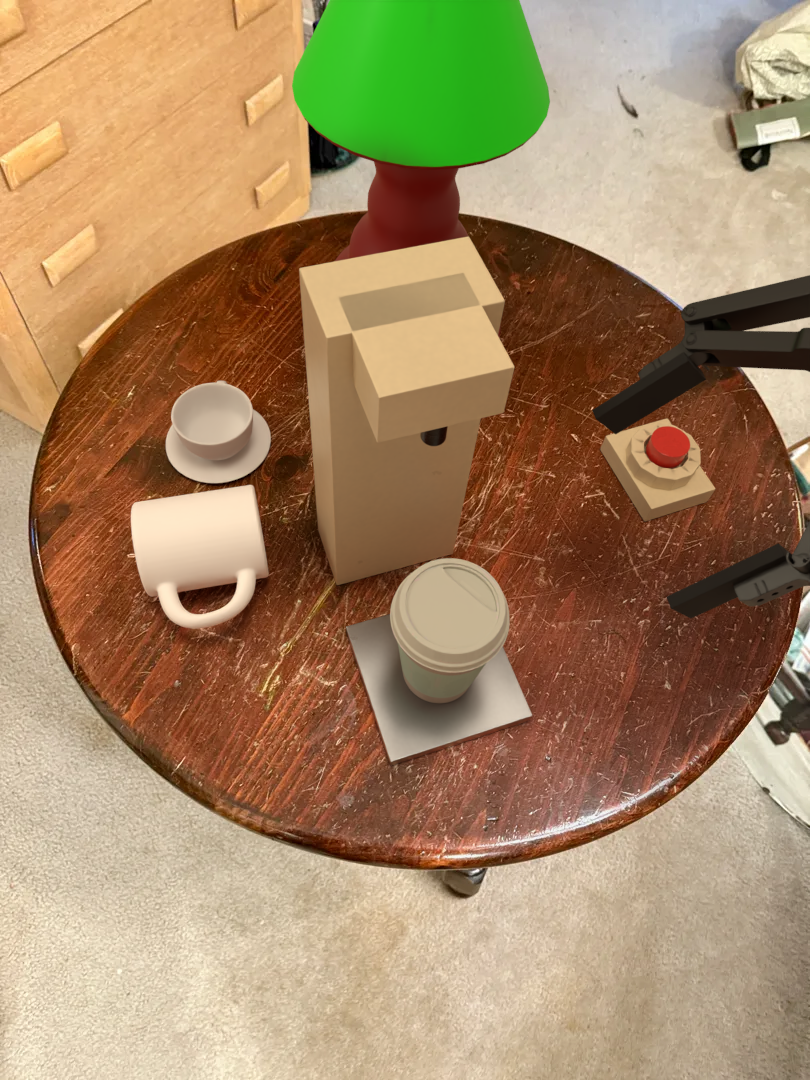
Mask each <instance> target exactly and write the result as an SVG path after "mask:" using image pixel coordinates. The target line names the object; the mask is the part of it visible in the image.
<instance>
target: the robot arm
mask: <svg viewBox="0 0 810 1080" xmlns="http://www.w3.org/2000/svg"><path fill="white" fill-rule="evenodd" d="M680 317H681V319H682V320H683V321H684V322H683V323H684V335H683V337H682V340H681V341H680V342H679V343H678V344H676V345H675V346H673V347H672V348H670V349H669V350H667V351H666V352H664V353H662V354H661V355H659V356H658V357H656V358H654V359H653V360H652V361H650V362H648V363H647V364H645V365H644V366H642V368H641V369H640V370H639V371H638V372H637V375H638V377H639V380H637V381H635V382H634V383H632V384H630V385H629V386H627V387H626V388H624V389H623V390H621V391H619V392H618V393H617V394H615V395H613V396H611V398H609V399H607V400H606V401H604V402H603V403H601V404H599V405H598V406H596V407H594V408H593V409H592V413H593V416H594V418H595V420H596V421H597V422H599V423H600V424H601V425H603V426H604V427H605V428H607V429H608V430H609V431H610V432H612V434H618V433H619V432H621V431H624V430H627V429H628V428H629V427H631V426H633V425H634V424H635V423H637V422H639V421H640V420H643V419H644V418H645V417H647V416H649V415H650V414H652V413H654V412H655V411H657V410H659V409H660V408H662V407H664V406H665V405H667V404H668V403H670V402H671V401H674V400H675V399H677V398H678V397H680V396H682V395H684V394H685V393H686V392H688V391H691V389H693V388H695V387H697V386H698V385H700V384H701V383H703V382H705V381H707V378H706V376H705V374H704V372H703V370H702V369H701V368H700V367H699V366H701V367H702V368H703V369H704V370H705V371H708V372H709V371H710V367H723V368H726V367H727V368H743V369H744V368H749V369H765V370H766V369H769V370H789V371H791V370H792V371H805V372H808V373H810V327H803V328H801V329H800V330H798V331H785V330H784V331H781V330H780V331H778V330H777V331H776V330H774V331H773V330H772V331H771V330H755V329H759V328H763V327H768V326H769V327H770V326H773V325H779V324H784V323H788V322H794V321H798V320H803V319H808V318H810V274H808V275H805V276H801V277H796V278H791V279H788V280H784V281H779V282H775V283H771V284H765V285H761V286H757V287H753V288H750V289H746V290H741V291H737V292H733V293H728V294H723V295H720V296H716V297H712V298H708V299H707V298H706V299H702V300H699V301H695V302H694V301H693V302H691V303H688V304H686V305H685V306H684V307H683V308H682V310H681V313H680ZM803 587H810V520H809V521H808V523H807V526H806V527H805V529H804V531H803V533H802V535H801V537H800V538H799V541H798V543H797V544H796V546H795V549H794V550H793V552H792V553H791V552H790V551H789V550H787V549H786V548H785V547H784V546H782V544H780V543H776V544H774V545H772V546H769V547H768V548H765V549H764V550H761V551H759V552H757V553H755V554H753V555H751V556H748V557H747V558H744V559H742V560H740V561H739V562H736V563H735V564H732V565H729V566H728V567H725V568H723V569H721V570H719V571H717V572H715V573H713V574H711V575H709V576H707V577H705V578H702V579H700V580H698V581H696V582H694V583H692V584H689V585H688V586H686V587H684V588H681V589H679V590H677V591H676V592H673V593H671V594H669V595H666V599H667V602H668V605H669V608H670V609H671V610H672V611H675V612H677V613H679V614H681V615H682V616H684V617H687V618H688V619H693V618H695V617H698V616H700V615H702V614H704V613H707V612H708V611H711V610H714V609H715V608H718V607H720V606H722V605H724V604H726V603H729V602H730V601H733V600H735V599H738V601H739V602H740V603H742V604H744V605H745V606H747V607H760V606H762V605H764V604H766V603H769V602H772V601H774V600H775V599H778V598H780V597H782V596H784V595H788V594H789V593H791V592H795V591H797V590H798V589H800V588H803Z"/></svg>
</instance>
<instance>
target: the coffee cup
mask: <svg viewBox="0 0 810 1080" xmlns="http://www.w3.org/2000/svg"><path fill="white" fill-rule="evenodd" d="M389 614H390V621H391V627H392V631H393V633H394V636H395V638H396V640H397V642H398V647H399V653H400V659H401V665H402V671H403V676H404V679H405V682H406V684H407V686H408V687H409V689H410V690H411V691H412V692H413V693H414V694H415V695H416V696H418V697H419V698H421V699H423V700H425V701H428V702H431V703H448V702H451V701H454V700H456V699H458V698H459V697H461V696H462V695H463V694H464V693H465V692H466V691H467V689H468V688H469V687H470V685H471V684H472V683H473V681H474V680H475V678H476V677H477V676H478V674H479V673H480V671H481V670H482V668H483V667H484V666H485V664H486V663H487V662H488V661H490V660H491V659H492V658H493V657H494V656H495V655H496V654H497V653H498V652H499V651H500V649H501V648H502V646H503V647H504V645H505V643H506V641H507V638H508V636H509V631H510V625H511V621H510V608H509V605H508V601H507V598H506V596H505V594H504V592H503V590H502V588H501V585H500V584H499V583H498V581H497V580H496V579H495V578H494V576H493V575H492V574H491V573H490V572H488V571H487V569H484V568H483V567H482V566H480V565H478V564H476V563H474V562H472V561H469V560H465V559H461V558H455V557H454V558H452V557H445V558H444V557H443V558H436V559H432V560H429V561H427V562H425V563H423V564H422V565H420V566H418V567H417V568H416V569H415V570H413V571H412V572H410V573H409V574H408V575H407V576H406V577H405V578H404V579H403V580H402V581H401V583H400V584H399V585H398V587H397V590H396V591H395V593H394V595H393V598H392V600H391V603H390V612H389Z"/></svg>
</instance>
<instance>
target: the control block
mask: <svg viewBox="0 0 810 1080" xmlns="http://www.w3.org/2000/svg"><path fill="white" fill-rule="evenodd" d="M664 426H670V427H674V428H677V429H679V430H681V431H682V432H684V433H685V434H686V435H687V437H688V438H689V441H690V449H689V451H688V453H687V455H686V456H685V458H684V460H683V461H682V463H681V464H680V465H678V466H677V467H674V468H663V467H660V466H658V465H656V464H654V463H653V462H652V461H651V460H650V459H649V458H648V456H647V454H646V446H647V444H648V442H649V440H650V438H651V436H652V434H653V432H654V431H655V430H656V429H658V428H660V427H664ZM599 450H600V452H601V455H603V457H604V458H605V460H606V462H607V463H608V465H609V467H610V468H611V470H612V471H613V473H614V475H615V477H616V478H617V479H618V481H619V483H620V484H621V487H622V488H623V489H624V491H625V493H626V494H627V496H628V497H629V499H630V501H631V503H632V504H633V506H634V508H635V509H636V510H637V512H638V514H639V515H640V518H641V519H642V520H643V522H648V521H651V520H655V519H658V518H661V517H663V516H667V515H669V514H670V515H671V514H672V513H676V512H679V511H683V510H686V509H689V508H692V507H695V506H698V505H702V504H705V503H708V501H709V500H710V498H711V497H712V495H713V494H714V492H715V491H716V487H715V486H714V484H713V482H712V481H711V479H710V478H709V477H708V475H707V474H706V472H705V471H704V470H703V468H702V467H701V462H702V459H701V458H702V457H701V448H700V446H699V444H698V443H697V442H696V441H695V438H694V437H693V436H692V434H690V433H689V432H687V431H685V430H683V429H681V428H679V426H676V425H674V424H672V422H671V421H670V419H669V418H668V417H667V418H663V419H660V420H656V421H652V422H649V423H646V424H642V425H639V426H635V427H632V428H627V429H624V430H622V431H621V432H619V433H618V434H614V433H610V434H607V435H605V436H604V438H603V441H602V444H601V445H600V448H599Z"/></svg>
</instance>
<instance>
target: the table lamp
mask: <svg viewBox="0 0 810 1080" xmlns="http://www.w3.org/2000/svg"><path fill="white" fill-rule="evenodd" d="M291 87H292V93H293V98H294V103H295V104H296V105H297V107H298V109H299V111H300V114H301V115H302V117H303V119H304V120H305V121H306V122H307V123H308V124H309V126H310V127H312V129H314V131H315V132H316V133H317V134H318V135H320V136H321V137H322V138H324V139H325V140H327V141H328V142H329V143H331V145H333V146H335V147H337V148H340V149H341V150H344V151H345V152H348V153H350V154H351V155H353V156H356V157H358V158H361V159H365V160H368V161H371V162H373V164H374V167H375V173H374V177H373V178H372V181H371V183H370V186H369V189H368V192H367V201H366V202H367V203H366V204H367V212H366V213H365V214H364V215H363V216H361V218H360V220H359V221H358V222H357V223H356V225H355V226H354V228H353V231H352V233H351V236H350V240H349V245H348V246H346V247H345V248H344V249H343V250H342V251H341V252H340V253H339V254H338V256H337V257H336V258H335V260H334V261H333V262H335V261H340V260H345V259H351V258H356V257H361V256H367V255H372V254H377V253H383V252H388V251H394V250H399V249H404V248H410V247H415V246H420V245H426V244H431V243H436V242H442V241H447V240H452V239H458V238H463V237H469V234H468V232H467V230H466V228H465V227H464V225H463V224H462V222H461V221H460V220H459V214H460V211H461V210H460V209H461V197H460V192H459V188H458V184H457V181H456V178H457V174H458V171H459V169H465V168H468V167H473V166H479V165H483V164H486V163H490V162H492V161H495V160H497V159H500V158H503V157H505V156H508V155H509V154H511V153H512V152H514V151H516V150H518V149H519V148H521V147H523V146H524V145H525V144H526V143H528V141H529V140H530V139H532V137H534V136H535V134H537V132H538V131H539V130H540V128H541V127H542V125H543V123H544V121H545V120H546V118H548V117H547V116H548V112H549V108H550V104H551V100H550V91H549V85H548V82H547V79H546V76H545V73H544V71H543V68H542V64H541V61H540V58H539V55H538V53H537V49H536V47H535V43H534V40H533V37H532V34H531V31H530V29H529V25H528V21H527V18H526V16H525V13H524V10H523V6H522V3H521V0H328V3H327V5H326V7H325V8H324V11H323V13H322V14H321V16H320V19H319V21H318V23H317V25H316V27H315V29H314V31H313V33H312V35H311V37H310V39H309V41H308V42H307V45H306V47H305V49H304V50H303V53H302V55H301V58H300V59H299V61H298V64H297V65H296V67H295V69H294V72H293V77H292V84H291ZM498 337H499V338H500V337H501V327H500V328H499V333H498Z"/></svg>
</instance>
